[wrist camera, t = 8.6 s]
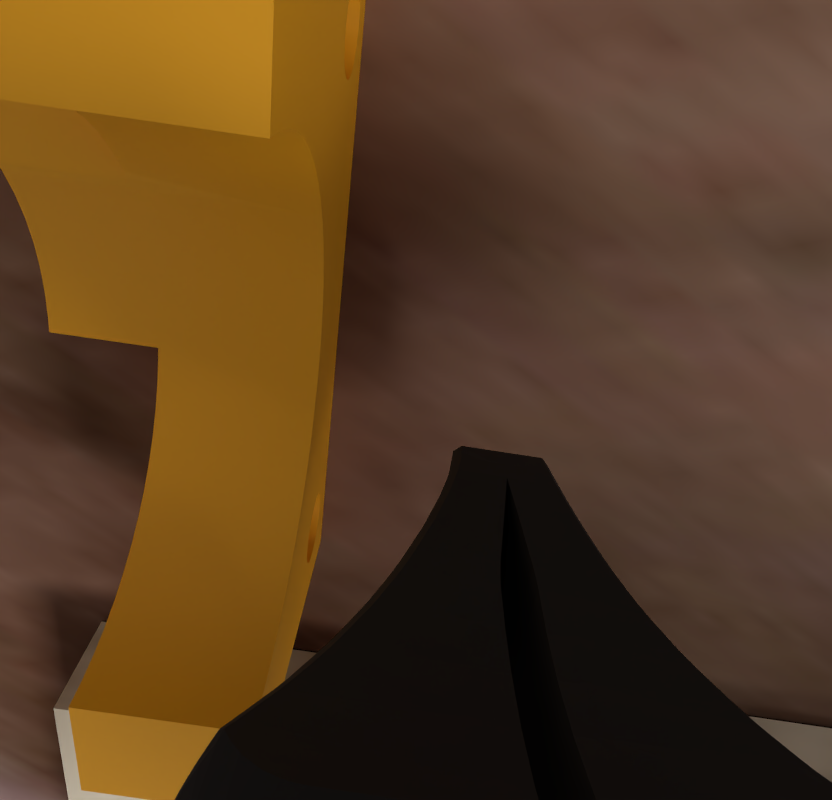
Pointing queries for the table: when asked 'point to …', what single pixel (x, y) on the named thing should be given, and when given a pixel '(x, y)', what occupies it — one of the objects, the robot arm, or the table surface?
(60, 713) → the maple board
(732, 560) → the table surface
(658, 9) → the table surface
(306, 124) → the pipe clamp
